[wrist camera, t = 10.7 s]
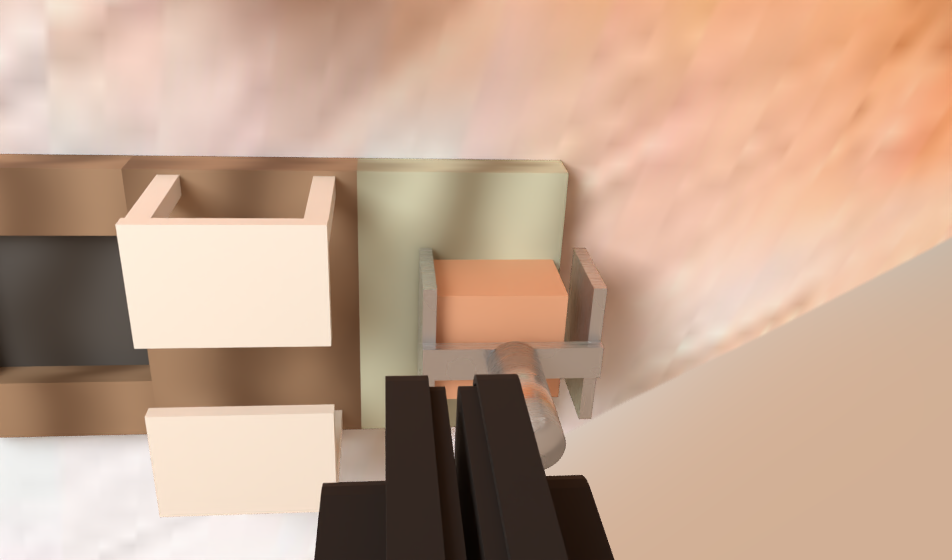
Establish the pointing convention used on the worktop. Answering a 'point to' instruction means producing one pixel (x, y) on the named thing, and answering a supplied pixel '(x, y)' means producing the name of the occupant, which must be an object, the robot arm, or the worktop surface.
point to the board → (240, 196)
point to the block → (499, 305)
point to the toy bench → (226, 326)
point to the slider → (526, 352)
